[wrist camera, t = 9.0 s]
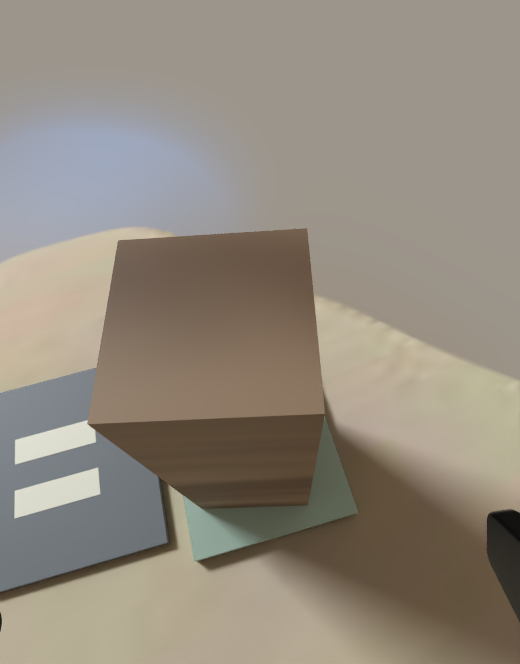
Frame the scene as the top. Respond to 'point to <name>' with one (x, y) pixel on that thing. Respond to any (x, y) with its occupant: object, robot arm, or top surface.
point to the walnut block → (214, 366)
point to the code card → (68, 487)
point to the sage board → (274, 511)
